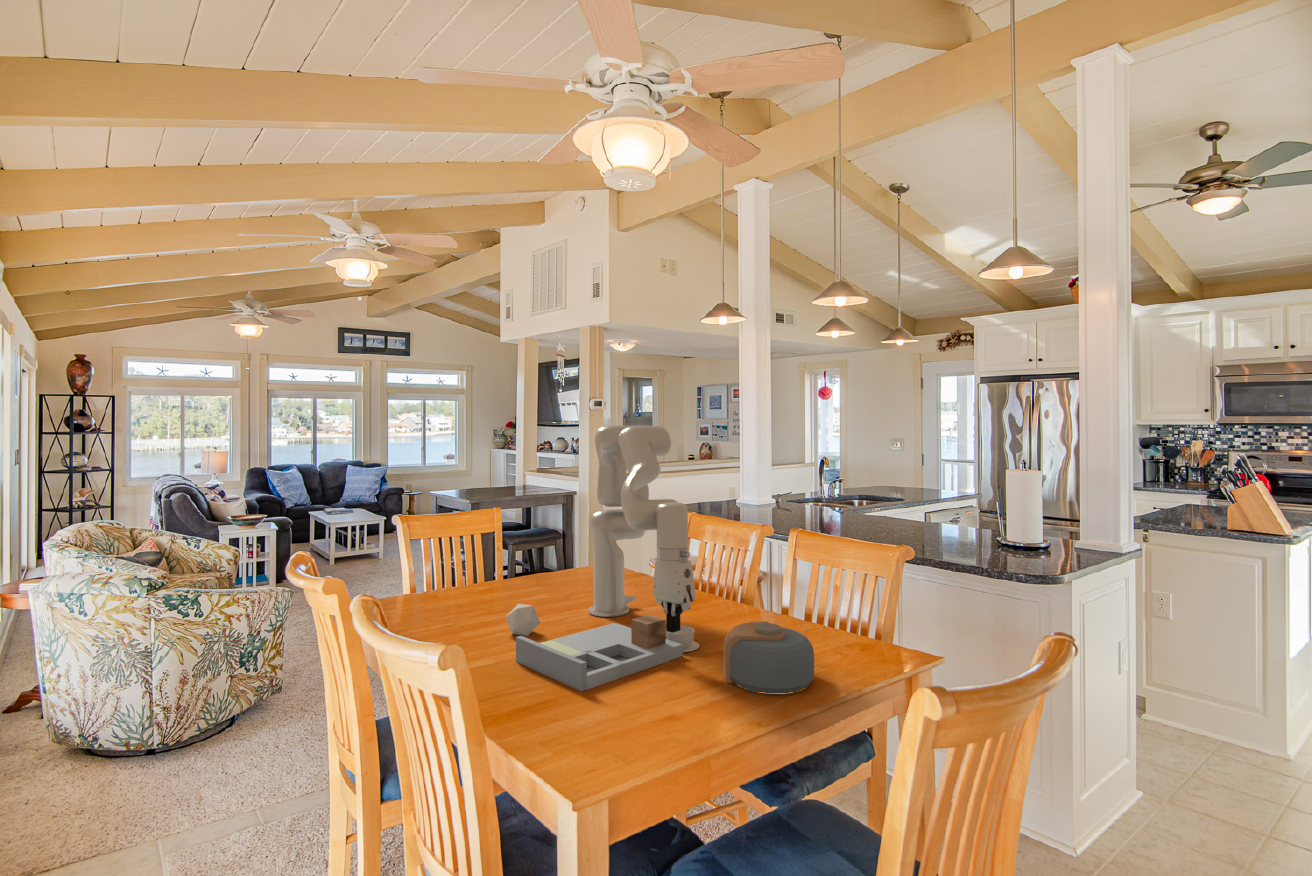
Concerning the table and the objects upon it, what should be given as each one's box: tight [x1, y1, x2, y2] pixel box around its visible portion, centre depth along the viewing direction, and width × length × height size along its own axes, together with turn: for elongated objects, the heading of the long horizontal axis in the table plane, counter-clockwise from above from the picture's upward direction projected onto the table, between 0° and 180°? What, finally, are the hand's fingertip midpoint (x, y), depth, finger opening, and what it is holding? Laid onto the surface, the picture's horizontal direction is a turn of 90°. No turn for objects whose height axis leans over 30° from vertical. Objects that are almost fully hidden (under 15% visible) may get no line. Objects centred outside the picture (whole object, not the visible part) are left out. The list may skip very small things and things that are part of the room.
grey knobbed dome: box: [723, 620, 815, 693], centre depth 150 cm, size 19×20×12 cm
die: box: [505, 603, 541, 637], centre depth 184 cm, size 8×9×10 cm
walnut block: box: [630, 614, 666, 649], centre depth 166 cm, size 6×6×6 cm
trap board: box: [515, 622, 684, 692], centre depth 163 cm, size 32×26×6 cm
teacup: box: [665, 624, 700, 653], centre depth 172 cm, size 10×10×5 cm
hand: (673, 630), depth 159 cm, fingers closed
